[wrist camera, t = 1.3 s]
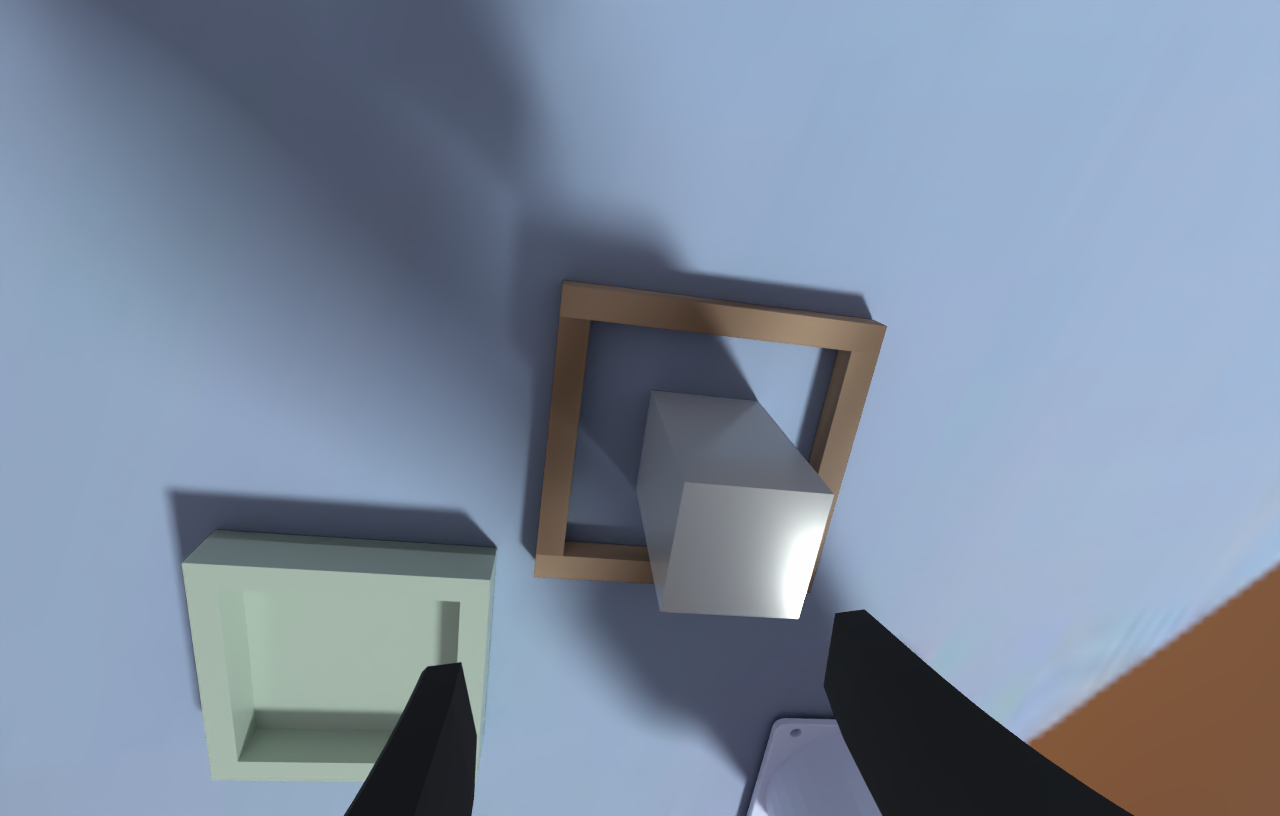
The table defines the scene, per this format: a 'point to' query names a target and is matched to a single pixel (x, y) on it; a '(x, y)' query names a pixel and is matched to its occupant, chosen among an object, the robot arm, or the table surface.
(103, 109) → the table surface
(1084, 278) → the table surface
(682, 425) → the stone block
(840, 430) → the walnut frame
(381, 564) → the sage tray
